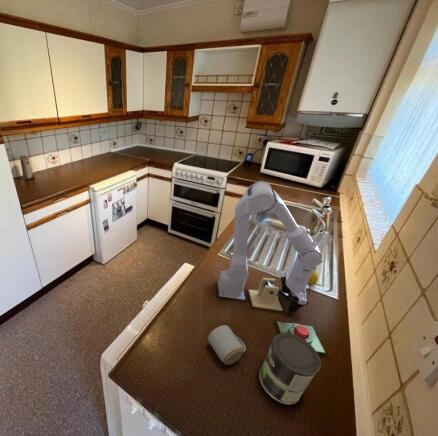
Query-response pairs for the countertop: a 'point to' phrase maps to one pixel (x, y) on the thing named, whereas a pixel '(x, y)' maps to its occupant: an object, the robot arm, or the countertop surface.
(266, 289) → the lever bracket
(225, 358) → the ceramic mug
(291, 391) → the coffee can
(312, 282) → the lemon
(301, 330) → the button
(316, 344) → the control block
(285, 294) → the press lever
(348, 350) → the countertop surface
